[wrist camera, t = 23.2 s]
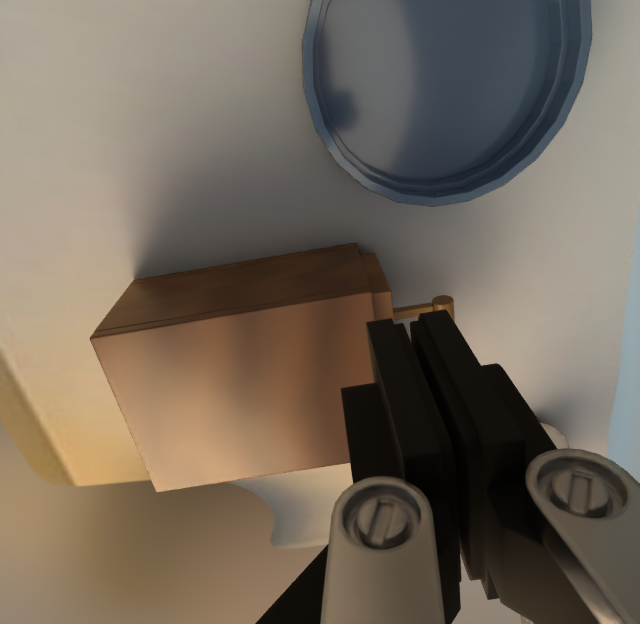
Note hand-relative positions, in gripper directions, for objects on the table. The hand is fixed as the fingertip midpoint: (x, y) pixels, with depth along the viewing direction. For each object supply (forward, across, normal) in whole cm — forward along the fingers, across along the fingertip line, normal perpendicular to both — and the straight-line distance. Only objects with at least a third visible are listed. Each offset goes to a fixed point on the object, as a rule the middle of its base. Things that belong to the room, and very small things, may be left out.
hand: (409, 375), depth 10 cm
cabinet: (+25, +8, +12) cm, 29 cm away
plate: (+25, -7, -5) cm, 27 cm away
